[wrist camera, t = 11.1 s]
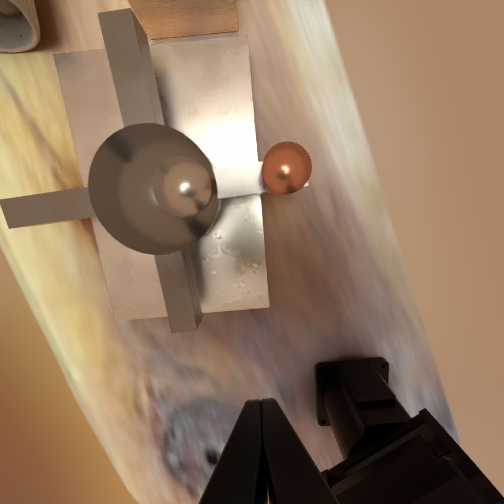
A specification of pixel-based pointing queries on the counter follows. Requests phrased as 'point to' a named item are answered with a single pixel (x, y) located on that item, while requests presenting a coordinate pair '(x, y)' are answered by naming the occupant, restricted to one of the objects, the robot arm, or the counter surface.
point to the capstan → (156, 178)
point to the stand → (199, 131)
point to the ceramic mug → (18, 25)
